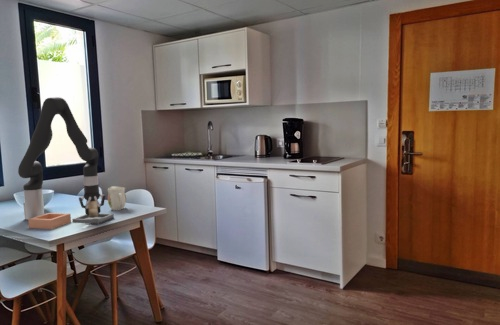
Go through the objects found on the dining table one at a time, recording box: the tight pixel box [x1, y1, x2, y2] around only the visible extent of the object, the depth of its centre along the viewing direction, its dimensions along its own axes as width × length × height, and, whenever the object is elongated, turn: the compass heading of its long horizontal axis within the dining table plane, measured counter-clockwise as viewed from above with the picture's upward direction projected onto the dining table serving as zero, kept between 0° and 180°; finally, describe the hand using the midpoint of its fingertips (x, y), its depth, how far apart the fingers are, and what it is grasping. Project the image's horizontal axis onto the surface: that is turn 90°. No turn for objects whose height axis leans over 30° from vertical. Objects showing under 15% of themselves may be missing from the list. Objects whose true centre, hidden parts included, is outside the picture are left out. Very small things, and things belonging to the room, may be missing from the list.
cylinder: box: [88, 201, 98, 218], centre depth 208 cm, size 5×5×9 cm
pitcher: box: [107, 185, 127, 211], centre depth 236 cm, size 11×18×14 cm, turn 36°
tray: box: [71, 212, 115, 226], centre depth 209 cm, size 16×14×2 cm
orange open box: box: [27, 212, 72, 230], centre depth 199 cm, size 14×14×6 cm
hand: (93, 214), depth 208 cm, fingers closed on cylinder, 5 cm apart
